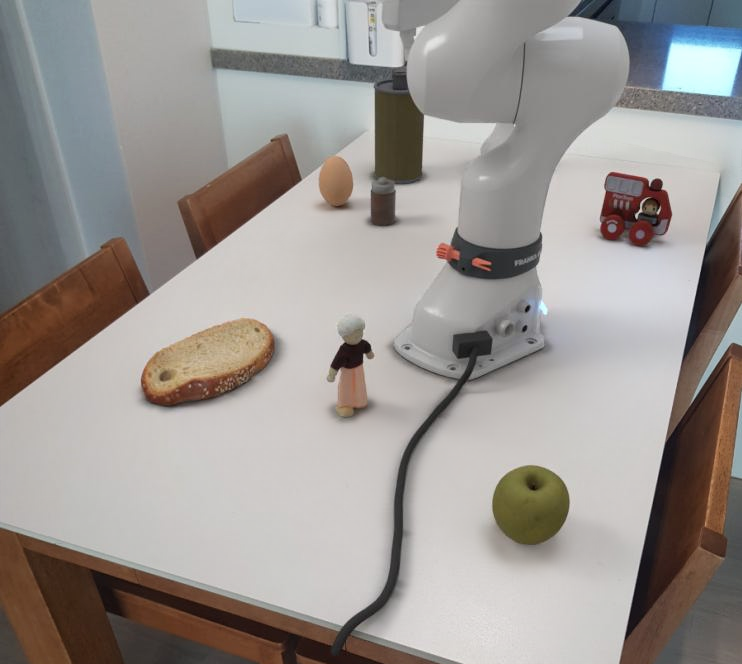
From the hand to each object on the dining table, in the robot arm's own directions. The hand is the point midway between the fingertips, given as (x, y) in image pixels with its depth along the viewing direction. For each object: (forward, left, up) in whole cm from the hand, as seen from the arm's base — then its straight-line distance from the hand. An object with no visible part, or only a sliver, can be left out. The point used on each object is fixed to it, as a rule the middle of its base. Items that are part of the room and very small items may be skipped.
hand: (431, 55), depth 118 cm
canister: (+20, +23, -29) cm, 42 cm away
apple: (-54, -57, -29) cm, 83 cm away
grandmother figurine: (-49, -28, -29) cm, 63 cm away
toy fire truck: (+23, -29, -29) cm, 47 cm away
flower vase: (+39, +9, -29) cm, 49 cm away
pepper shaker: (-1, +9, -29) cm, 30 cm away
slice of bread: (-55, -7, -29) cm, 62 cm away
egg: (-1, +21, -29) cm, 36 cm away
